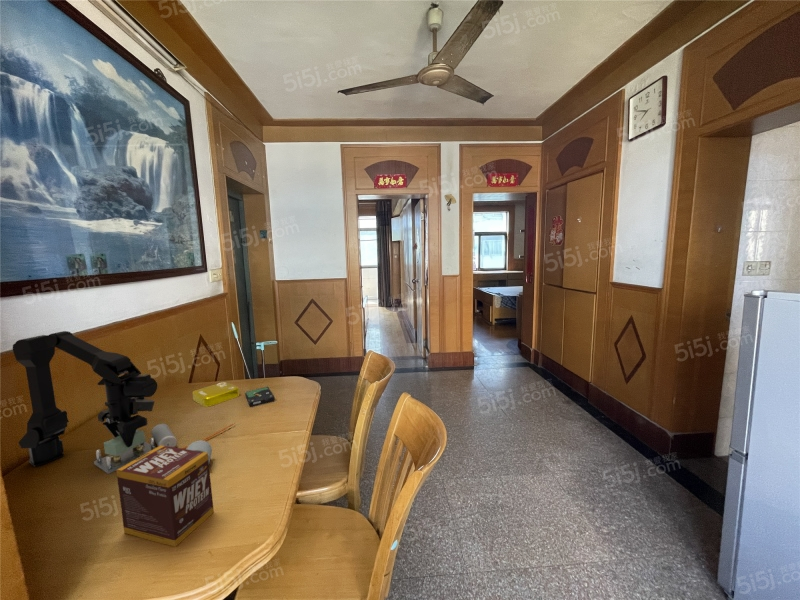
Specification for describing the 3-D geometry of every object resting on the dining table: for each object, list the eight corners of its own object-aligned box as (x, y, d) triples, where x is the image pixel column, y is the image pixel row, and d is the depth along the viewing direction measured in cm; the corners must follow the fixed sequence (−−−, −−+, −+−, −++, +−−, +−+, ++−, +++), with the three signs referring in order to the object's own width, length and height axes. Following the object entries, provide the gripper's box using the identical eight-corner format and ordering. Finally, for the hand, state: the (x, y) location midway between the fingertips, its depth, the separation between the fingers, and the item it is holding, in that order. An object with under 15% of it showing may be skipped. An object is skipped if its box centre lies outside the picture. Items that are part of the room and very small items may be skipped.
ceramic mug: (213, 457, 102) (211, 434, 101) (211, 472, 95) (207, 447, 94) (173, 467, 98) (170, 443, 97) (167, 484, 91) (163, 458, 90)
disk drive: (275, 402, 144) (268, 391, 156) (275, 396, 143) (268, 385, 156) (250, 408, 138) (244, 396, 150) (249, 402, 138) (244, 391, 150)
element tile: (191, 400, 148) (190, 390, 147) (225, 389, 160) (224, 380, 159) (206, 408, 139) (205, 397, 139) (241, 396, 151) (240, 386, 150)
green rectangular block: (116, 456, 99) (114, 443, 98) (105, 453, 100) (103, 441, 100) (145, 441, 107) (143, 429, 106) (134, 439, 108) (133, 427, 108)
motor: (160, 459, 102) (161, 443, 102) (148, 434, 118) (149, 420, 118) (238, 440, 119) (239, 427, 119) (218, 421, 134) (219, 409, 134)
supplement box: (176, 547, 70) (167, 480, 68) (123, 533, 74) (114, 469, 72) (215, 512, 80) (209, 452, 78) (167, 501, 84) (160, 444, 82)
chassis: (108, 473, 96) (106, 459, 95) (94, 464, 100) (92, 450, 100) (158, 451, 107) (156, 438, 106) (143, 443, 112) (142, 431, 111)
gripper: (163, 392, 104) (168, 439, 106) (135, 383, 113) (141, 426, 115) (120, 406, 94) (127, 457, 96) (93, 395, 103) (100, 441, 105)
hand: (125, 444), depth 103 cm, fingers closed on green rectangular block, 5 cm apart
